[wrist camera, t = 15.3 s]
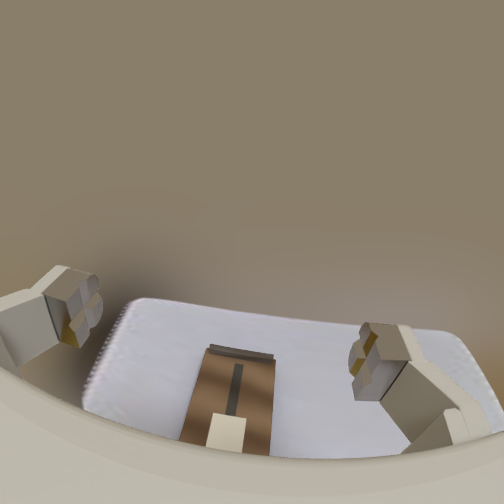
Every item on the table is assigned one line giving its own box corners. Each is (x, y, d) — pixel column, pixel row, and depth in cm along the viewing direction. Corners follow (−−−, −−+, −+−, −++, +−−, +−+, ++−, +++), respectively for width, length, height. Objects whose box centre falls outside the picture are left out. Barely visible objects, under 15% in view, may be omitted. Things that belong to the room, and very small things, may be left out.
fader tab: (244, 508, 20) (267, 475, 15) (183, 497, 20) (173, 459, 15) (250, 460, 25) (272, 405, 20) (194, 451, 26) (193, 391, 20)
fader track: (255, 555, 16) (260, 554, 15) (155, 537, 17) (151, 534, 15) (273, 368, 41) (277, 355, 40) (206, 356, 41) (207, 343, 40)
